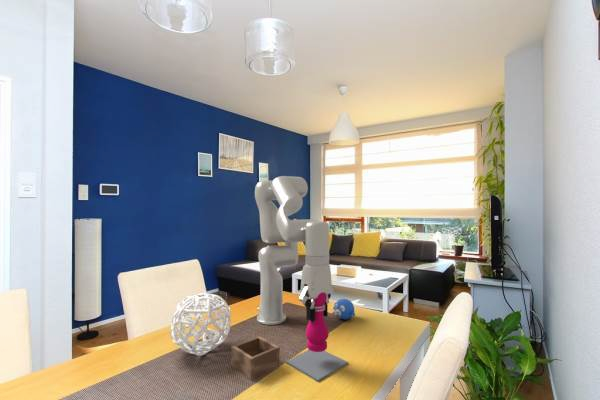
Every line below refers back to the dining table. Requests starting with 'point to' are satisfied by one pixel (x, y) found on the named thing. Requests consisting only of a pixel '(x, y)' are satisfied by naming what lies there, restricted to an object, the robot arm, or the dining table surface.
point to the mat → (316, 364)
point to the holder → (255, 357)
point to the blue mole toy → (344, 309)
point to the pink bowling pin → (318, 326)
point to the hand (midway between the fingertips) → (317, 317)
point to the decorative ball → (215, 339)
